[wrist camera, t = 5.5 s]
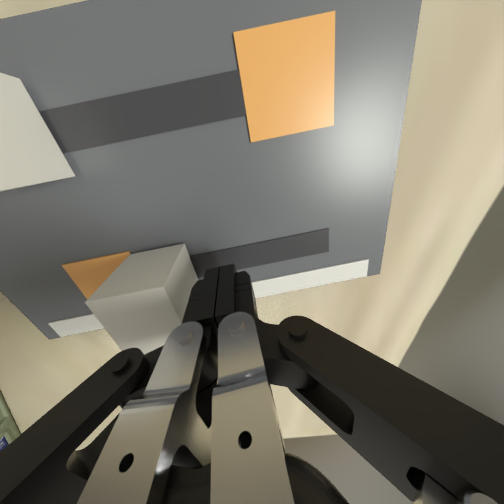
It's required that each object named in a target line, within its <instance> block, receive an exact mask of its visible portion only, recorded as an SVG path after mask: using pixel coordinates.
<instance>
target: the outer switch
mask: <svg viewBox="0 0 504 504" xmlns="http://www.w3.org/2000/svg"><path fill="white" fill-rule="evenodd" d="M197 281H198V277H197V275H196V272H195V269H194V267H193V264H192V262H191V259H190V256H189V254H188V251H187V249H186V246H185V243H184V244H179V245H174V246H169V247H164V248H159V249H154V250H149V251H144V252H139V253H134V254H130V255H129V256H128V257H127V258H126V259H125V260H124V261H123V262H122V263H121V264H120V265H119V267H118V268H117V269H116V270H115V271H114V272H113V273H112V274H111V275H110V276H109V277H108V278H107V279H106V280H105V281H104V282H103V283H102V285H101V286H100V287H99V288H98V289H97V290H96V291H95V292H94V293H93V294H92V295H91V296H90V297H89V298H88V299H87V300H86V301H85V303H86V305H87V306H88V307H89V309H90V310H91V311H92V313H93V314H94V315H95V316H96V318H97V319H98V320H99V322H100V323H101V324H102V325H103V327H104V328H105V329H106V331H107V332H108V333H109V335H110V336H111V337H112V338H113V340H114V341H115V342H116V344H117V345H118V346H119V348H120V349H121V350H122V351H123V350H126V349H129V348H139V349H140V350H141V351H142V352H143V354H146V353H149V352H151V351H153V350H155V349H157V348H159V347H161V346H163V345H164V344H165V342H166V340H167V338H168V336H169V334H170V333H171V332H172V331H173V330H174V329H175V328H176V327H178V326H179V325H181V324H182V320H183V317H184V313H185V310H186V306H187V303H188V299H189V296H190V292H191V289H192V287H193V286H194V284H195V283H196V282H197Z"/></svg>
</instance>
